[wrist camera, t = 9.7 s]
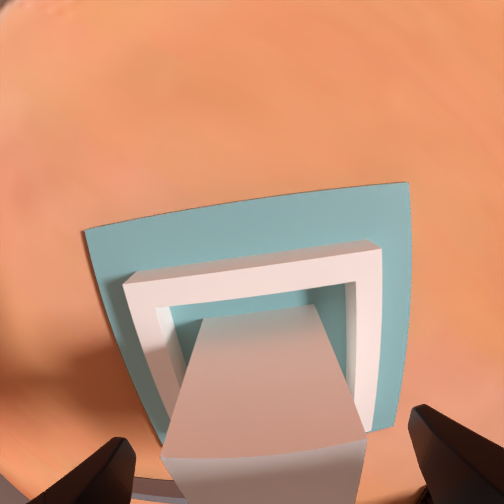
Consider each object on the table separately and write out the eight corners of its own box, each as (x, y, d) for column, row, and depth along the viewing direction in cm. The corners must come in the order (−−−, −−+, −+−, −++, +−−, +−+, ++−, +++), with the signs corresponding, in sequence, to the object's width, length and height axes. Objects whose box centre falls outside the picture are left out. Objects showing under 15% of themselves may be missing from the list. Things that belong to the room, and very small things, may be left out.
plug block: (313, 303, 12) (367, 437, 5) (319, 396, 13) (349, 522, 6) (203, 318, 12) (159, 457, 5) (226, 407, 13) (213, 535, 7)
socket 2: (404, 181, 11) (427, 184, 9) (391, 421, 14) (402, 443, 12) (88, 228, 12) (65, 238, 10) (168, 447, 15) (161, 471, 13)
